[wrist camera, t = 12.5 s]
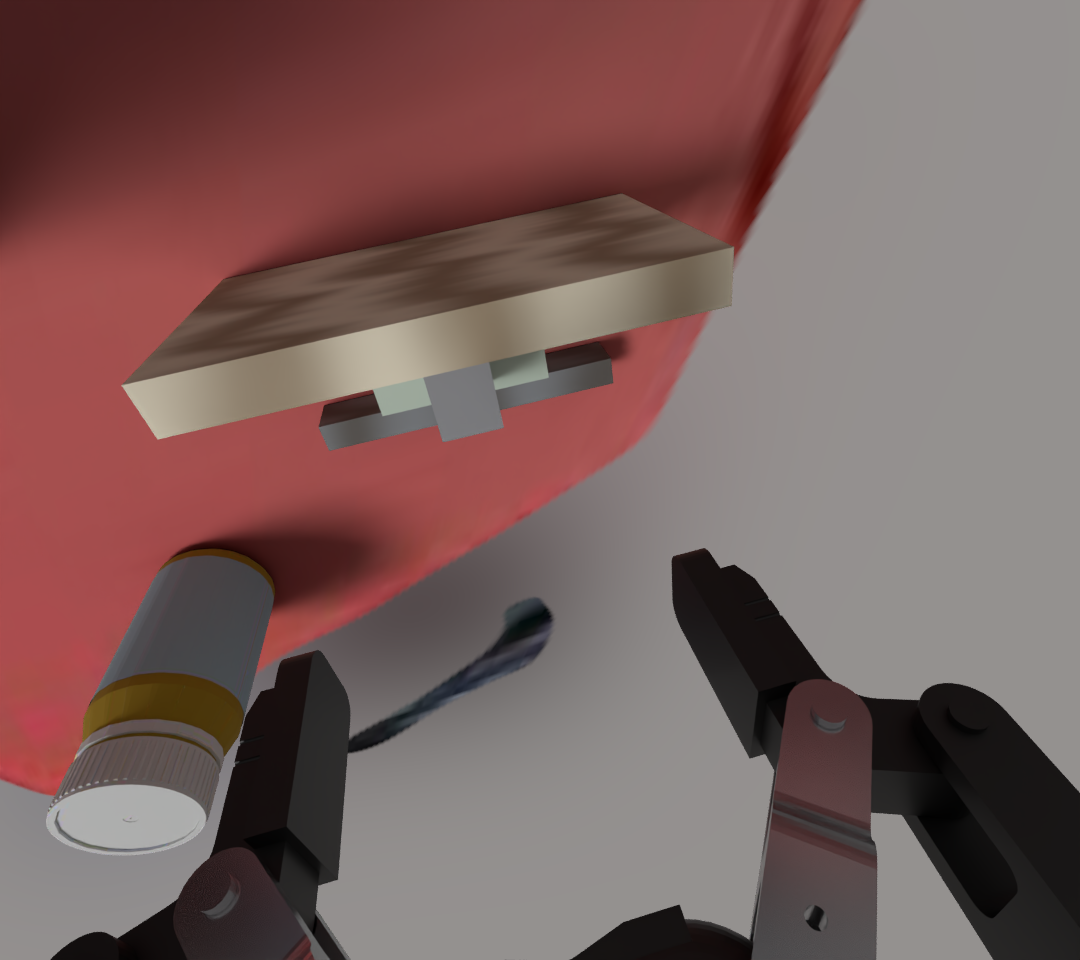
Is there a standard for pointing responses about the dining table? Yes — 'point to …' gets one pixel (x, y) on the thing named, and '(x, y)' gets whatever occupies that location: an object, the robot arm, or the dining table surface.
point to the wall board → (430, 318)
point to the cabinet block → (464, 394)
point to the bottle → (167, 709)
